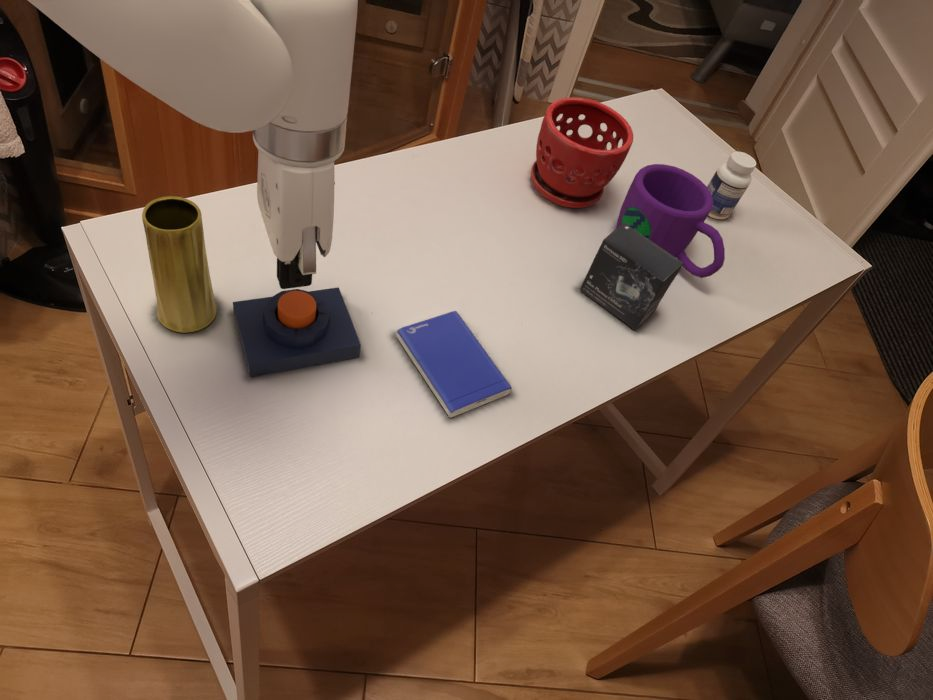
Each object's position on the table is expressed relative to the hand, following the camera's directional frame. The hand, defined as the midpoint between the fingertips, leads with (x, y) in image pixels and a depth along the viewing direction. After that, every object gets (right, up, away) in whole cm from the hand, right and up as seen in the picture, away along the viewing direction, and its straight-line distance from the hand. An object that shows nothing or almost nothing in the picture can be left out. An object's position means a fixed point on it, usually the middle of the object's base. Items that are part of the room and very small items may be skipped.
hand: (294, 281), depth 70 cm
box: (+38, -1, +22) cm, 43 cm away
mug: (+46, +7, +30) cm, 55 cm away
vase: (-13, -3, +6) cm, 15 cm away
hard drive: (+16, -9, +9) cm, 20 cm away
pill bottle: (+58, +16, +40) cm, 72 cm away
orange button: (-1, -3, +4) cm, 5 cm away
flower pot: (+33, +18, +35) cm, 51 cm away
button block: (-1, -5, +7) cm, 9 cm away
